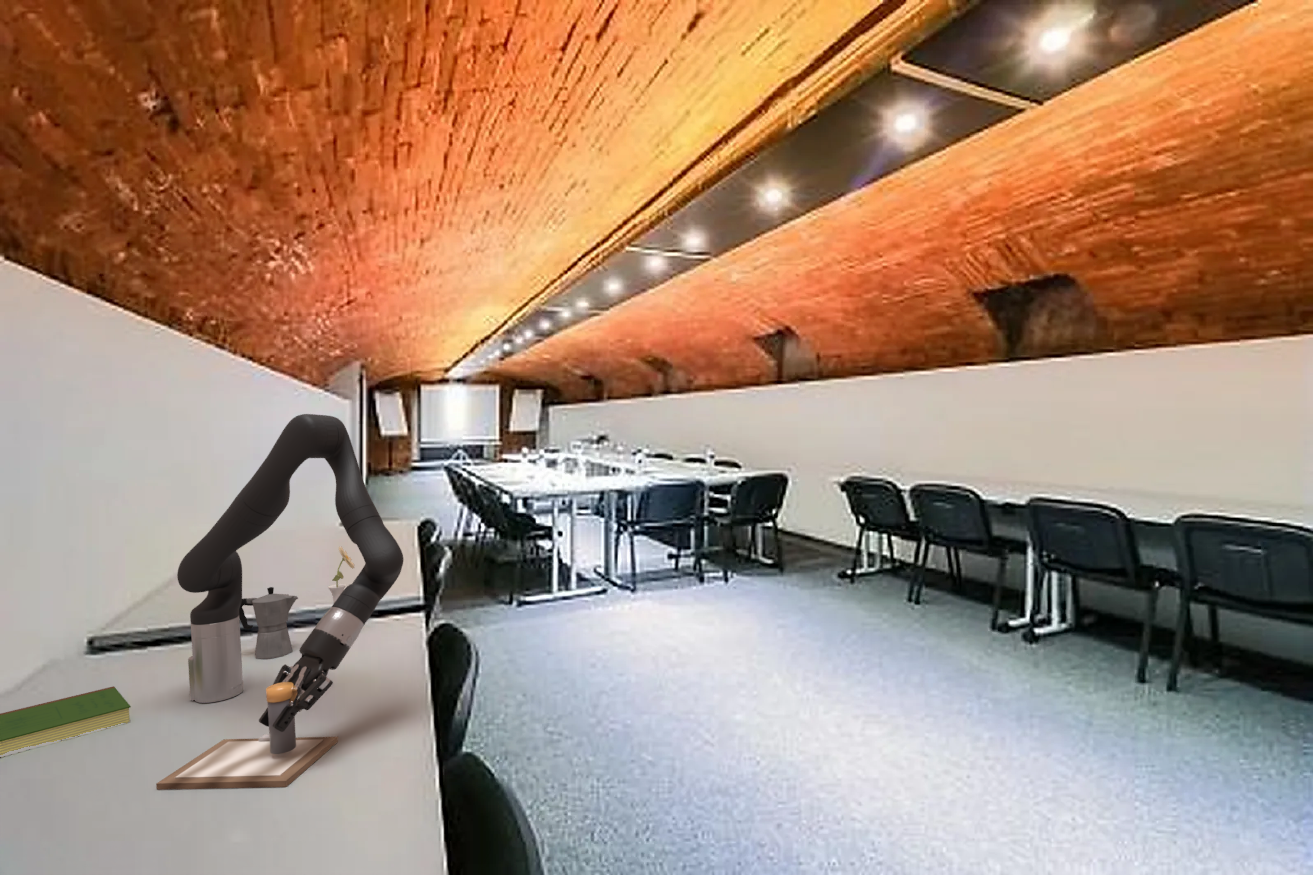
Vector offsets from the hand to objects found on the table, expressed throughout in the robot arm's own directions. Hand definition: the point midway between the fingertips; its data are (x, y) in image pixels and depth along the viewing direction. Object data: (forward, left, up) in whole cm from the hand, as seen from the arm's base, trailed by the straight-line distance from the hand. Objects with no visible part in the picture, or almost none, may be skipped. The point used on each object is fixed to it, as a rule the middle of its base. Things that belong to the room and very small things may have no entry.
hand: (270, 726), depth 118 cm
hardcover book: (-58, +17, -7) cm, 61 cm away
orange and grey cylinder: (+1, +2, -5) cm, 5 cm away
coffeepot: (-41, +63, -7) cm, 75 cm away
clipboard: (-4, +1, -7) cm, 8 cm away
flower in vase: (-32, +83, -7) cm, 89 cm away
